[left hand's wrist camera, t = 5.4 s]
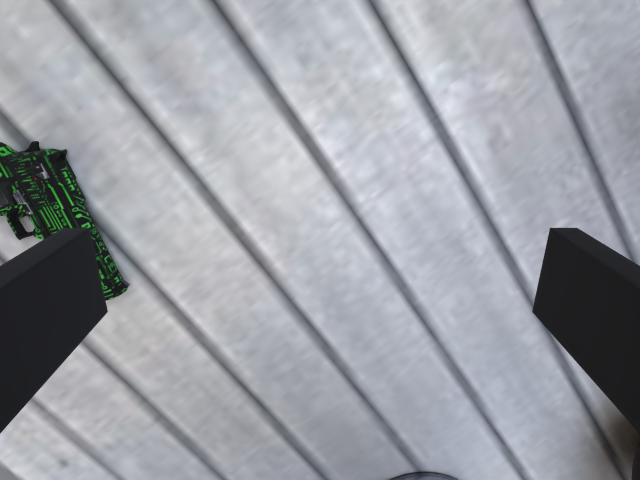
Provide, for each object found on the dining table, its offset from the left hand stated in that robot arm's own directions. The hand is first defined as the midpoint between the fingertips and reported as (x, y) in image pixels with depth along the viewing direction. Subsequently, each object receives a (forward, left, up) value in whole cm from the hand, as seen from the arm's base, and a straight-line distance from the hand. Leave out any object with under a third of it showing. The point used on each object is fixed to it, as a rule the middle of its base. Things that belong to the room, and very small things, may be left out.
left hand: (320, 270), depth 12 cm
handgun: (-8, +28, -28) cm, 40 cm away
